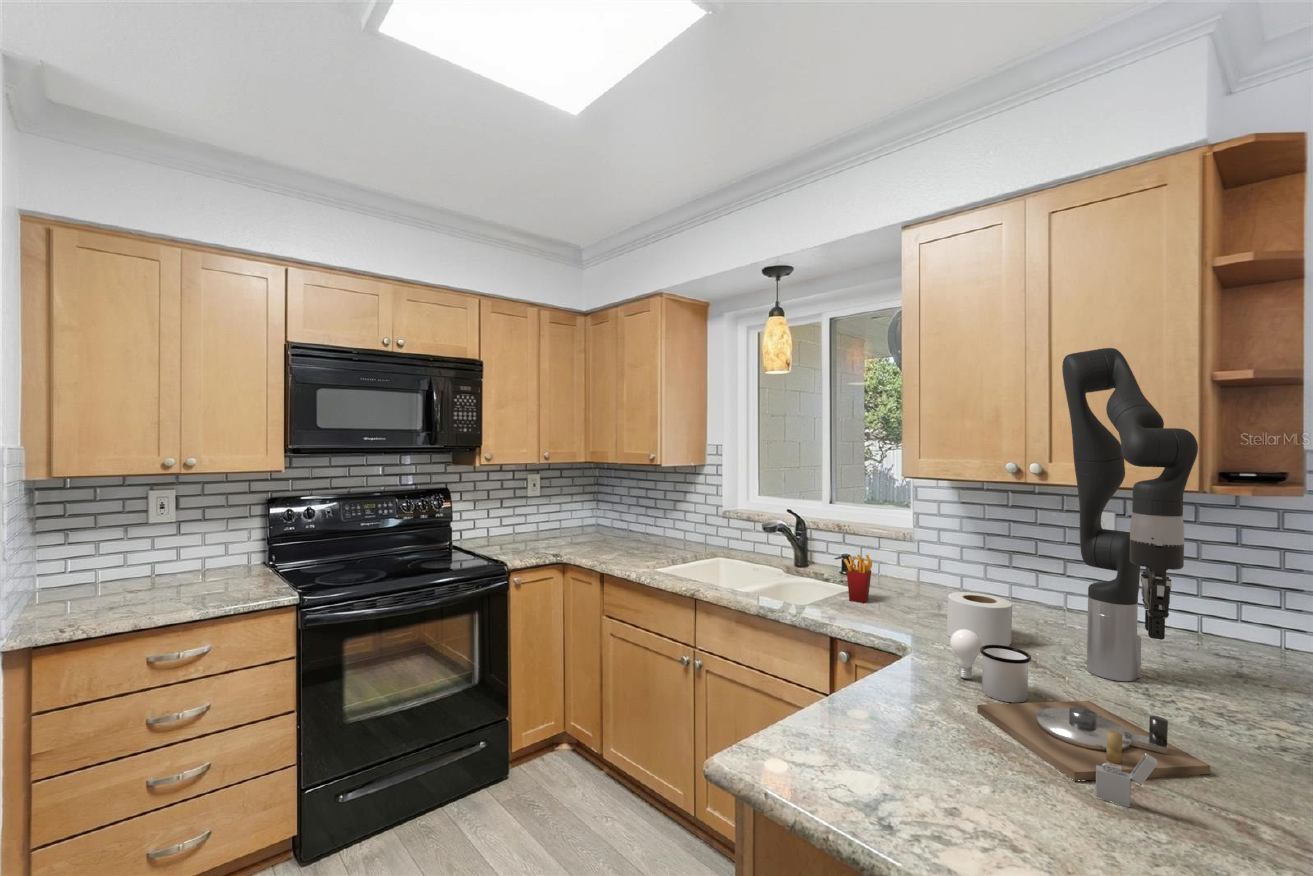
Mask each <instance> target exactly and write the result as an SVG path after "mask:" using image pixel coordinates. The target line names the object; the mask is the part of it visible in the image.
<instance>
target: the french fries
mask: <svg viewBox="0 0 1313 876" xmlns="http://www.w3.org/2000/svg"><path fill="white" fill-rule="evenodd" d="M856 558H857V564H856V563H855V560H856ZM865 558H866V562H865ZM865 558H864V557H862V556H861V555H860V554H857V555H856V556H855V555H854V556H853V557H852V556H848V559H849V561H848V559H847V558H844V559H843V562H844V563H845V565H846V567H847V570H846V577H847V579H846V580H847V587H848V588H847V589H848V601H849V602H854V603H861V604H865V603H866V602H867V601H869V596H870V595H869V593H870V586H871V579H872V567H873V561H872V559H871V558H870V556H869V554H866V555H865ZM849 562H850V563H849Z"/></svg>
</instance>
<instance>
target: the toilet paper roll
mask: <svg viewBox="0 0 1313 876" xmlns="http://www.w3.org/2000/svg"><path fill="white" fill-rule="evenodd" d="M946 612H947V617H946V619H947V620H946V621H947V622H946V634H947V636H948V637H949V638H951V636H952V634H953V633H954V632H955V631H957V630H960V629H968V630H971V631H973V632H974V633H976V634H977V635H978V637H979V638H980V640H981V643H982V646H984V645H1003V646H1009V645H1010V644H1011V645H1012V628H1013V627H1012V626H1013V603H1012V602H1011V601H1010V600H1008V599H1005V598H1004V597H1003V598H1002V597H999V596H996V595H991V594H984V593H977V592H970V591H969V592H967V591H962V592H961V591H956V592H955V591H954V592H951V593H949V594H947V611H946ZM1011 645H1010V646H1011ZM1010 646H1009V647H1010Z"/></svg>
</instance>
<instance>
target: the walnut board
mask: <svg viewBox="0 0 1313 876" xmlns="http://www.w3.org/2000/svg"><path fill="white" fill-rule="evenodd" d="M1071 707H1080V708H1085V709H1088V710H1091V711H1093V712H1094V713H1096V714H1097V715H1098V716H1101V717H1104V718H1106V719H1109V720H1111V721H1113V722H1115V723H1117V724H1119V725H1121V726H1122V727H1124V728H1125V729H1127V730H1128V731H1129V732H1130V733H1133V734H1137V735H1141V736H1146V737H1149V731H1147V730H1145V729H1143V728H1141V727H1139V726H1137V725H1135V724H1133V723H1132V722H1129V721H1128V720H1126V719H1124V718H1122V717H1121V716H1119V715H1116V713H1115V714H1114V713H1113V712H1111V711H1109V710H1108V709H1105V708H1104V707H1102V706H1099V705H1098V704H1096V703H1094V702H1092V701H1090V700H1072V701H1071V700H1070V701H1069V700H1068V701H1045V702H1044V701H1041V702H1021V703H988V704H984V703H983V704H977V707H976V708H977V713H978V714H979V715H980V714H981V717H983V718H985V719H986V720H987V719H988V721H989V722H991V723H992V724H993V723H994V724H995V725H994V724H993V725H994V726H996V727H997V728H999V729H1000V730H1001V729H1002V730H1001V731H1003V732H1004V733H1006V734H1007V735H1008V736H1010V737H1011V738H1012V739H1014V740H1015V741H1017V742H1018V743H1019V744H1021V745H1023V746H1024V747H1025V748H1027V749H1028V750H1029V751H1031V752H1033V753H1034V754H1035V755H1037V756H1038V757H1039V756H1040V757H1039V758H1041V759H1042V760H1044V761H1045V762H1046V763H1047V764H1049V765H1050V766H1052V765H1053V766H1054V767H1053V766H1052V767H1053V768H1054V769H1056V770H1057V769H1058V770H1057V771H1059V770H1060V771H1061V772H1060V771H1059V772H1060V773H1061V774H1063V775H1064V774H1066V775H1067V776H1068V777H1067V776H1066V775H1065V776H1066V777H1067V778H1069V779H1070V778H1071V779H1073V780H1074V781H1078V780H1080V781H1078V782H1083V781H1082V780H1096V765H1099V766H1102V764H1104V763H1107V762H1108V763H1112V764H1115V765H1119V766H1121V769H1122V770H1121V772H1125V773H1129V774H1131V772H1132V771H1133V769H1134V768H1135V767H1136V765H1137V764H1138V763H1139V762H1140V760H1141V759H1142V758H1143V756H1144V755H1145V754H1146V753H1147V754H1148V755H1150V756H1152V757H1153V758H1155V759H1156V760H1157V766H1156V767H1155V768H1154V770H1153V771H1152V772H1151V774H1150V775H1149V776H1148V778H1147V779H1150V778H1151V779H1152V778H1154V779H1155V778H1168V777H1169V778H1172V777H1188V776H1187V775H1190V776H1189V777H1191V775H1192V776H1201V775H1200V774H1210V775H1211V765H1210V764H1209V763H1206V762H1204V761H1203V760H1201V759H1199V758H1197V757H1195V756H1194V755H1191V754H1190V753H1188V752H1186V751H1184V750H1182V749H1180V748H1179V747H1176V746H1175V745H1172V744H1171V743H1170V742H1167V754H1165V753H1160V752H1156V751H1152V750H1148V749H1143V748H1139V747H1135V746H1131V747H1130V748H1129V749H1127V750H1123V751H1122V734H1120V733H1118V732H1115V731H1107V751H1101V750H1094V749H1089V748H1085V747H1081V746H1077V745H1074V744H1071V743H1068V742H1065V741H1063V740H1060V739H1058V738H1056V737H1054V736H1052V735H1050V734H1048V733H1047V732H1045V731H1044V730H1043V729H1041V728H1040V727H1039V725H1038V724H1037V713H1038V712H1039V711H1040V710H1043V709H1047V708H1066V709H1070V708H1071ZM1071 779H1070V780H1071ZM1073 780H1072V781H1073ZM1074 781H1073V782H1074Z"/></svg>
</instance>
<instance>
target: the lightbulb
mask: <svg viewBox="0 0 1313 876" xmlns="http://www.w3.org/2000/svg"><path fill="white" fill-rule="evenodd" d="M949 644H950V648H951V650H952V651H953V653H954V655H955V657H956V661H957V664H958V677H960V678H961V679H963V680H968V679H972V677H973V665H974V664H975V661H976V658H977V657H979V655H980V654H981V653H980V648H981V647H982V643H981V640H980V638H979V637H978V635H977V634H976V633H974V632H973V631H971V630H968V629H960V630H957V631H955V632H954V633H953V634H952V636H951V637H950V639H949Z"/></svg>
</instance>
